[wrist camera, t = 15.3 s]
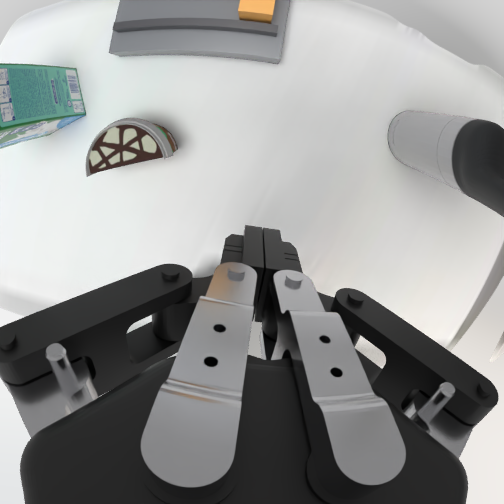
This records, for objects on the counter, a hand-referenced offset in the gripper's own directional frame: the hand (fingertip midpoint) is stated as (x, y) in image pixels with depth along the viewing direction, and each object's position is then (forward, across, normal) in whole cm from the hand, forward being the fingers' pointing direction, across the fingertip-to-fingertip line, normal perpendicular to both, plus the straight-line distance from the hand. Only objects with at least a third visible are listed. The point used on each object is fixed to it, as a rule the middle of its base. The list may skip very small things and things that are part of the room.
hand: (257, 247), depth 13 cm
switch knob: (+27, +3, -21) cm, 34 cm away
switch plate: (+32, +11, -21) cm, 40 cm away
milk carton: (+32, +34, -6) cm, 47 cm away
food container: (+32, +17, -1) cm, 36 cm away
